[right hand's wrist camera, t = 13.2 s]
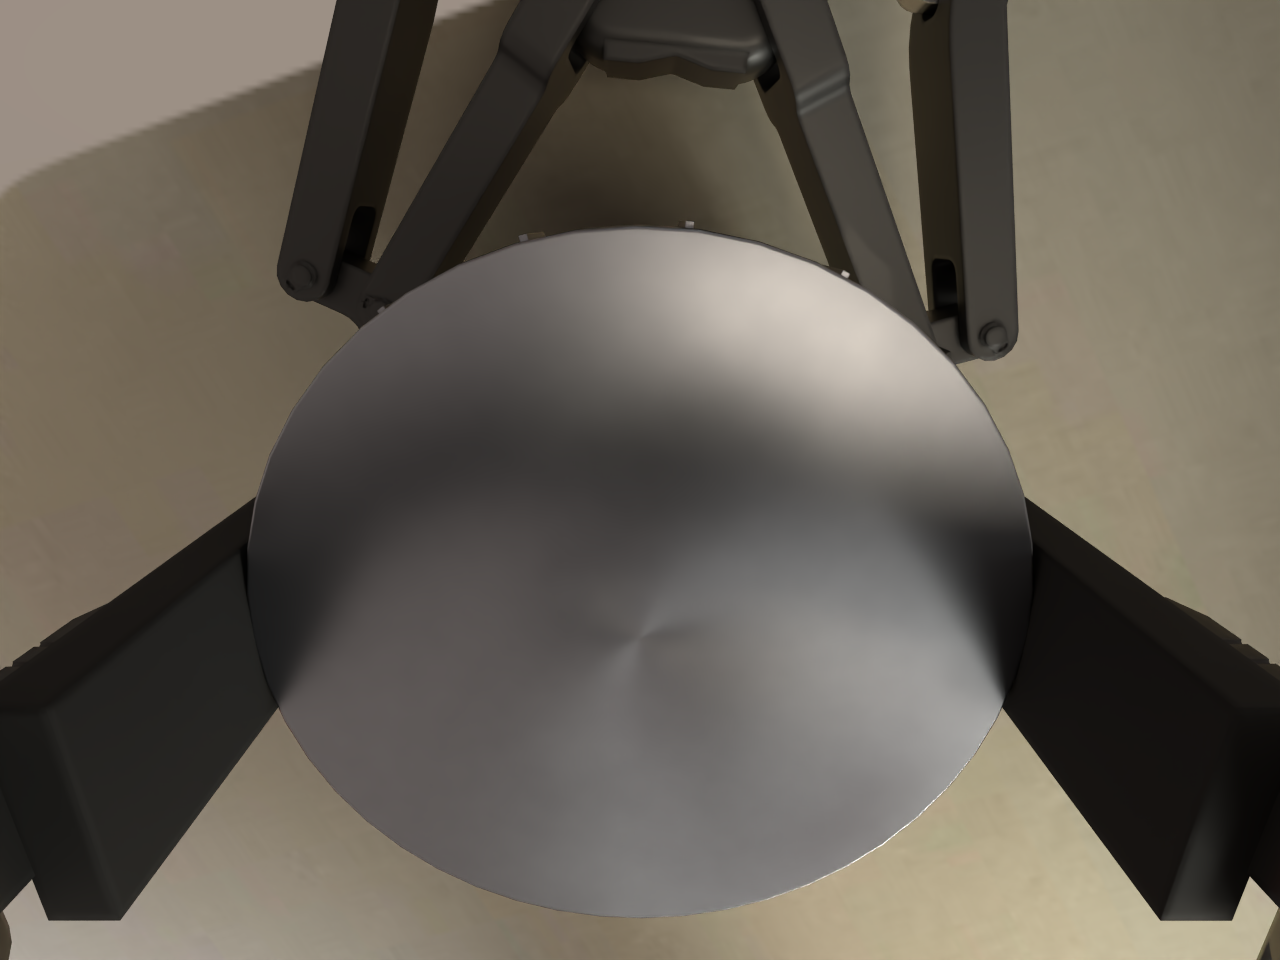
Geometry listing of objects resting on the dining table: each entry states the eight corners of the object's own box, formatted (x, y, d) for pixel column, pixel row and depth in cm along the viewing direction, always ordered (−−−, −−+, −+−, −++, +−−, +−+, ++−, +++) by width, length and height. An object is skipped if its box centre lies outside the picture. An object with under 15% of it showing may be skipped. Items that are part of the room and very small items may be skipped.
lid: (1102, 389, 11) (1212, 430, 9) (789, 879, 15) (813, 991, 12) (420, 90, 10) (357, 54, 8) (255, 712, 13) (180, 806, 11)
